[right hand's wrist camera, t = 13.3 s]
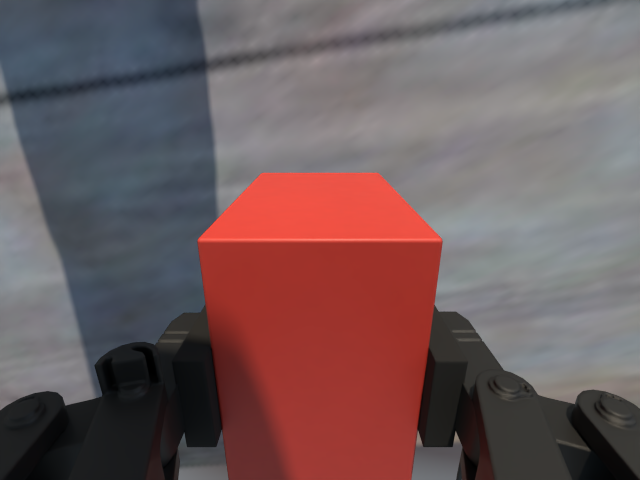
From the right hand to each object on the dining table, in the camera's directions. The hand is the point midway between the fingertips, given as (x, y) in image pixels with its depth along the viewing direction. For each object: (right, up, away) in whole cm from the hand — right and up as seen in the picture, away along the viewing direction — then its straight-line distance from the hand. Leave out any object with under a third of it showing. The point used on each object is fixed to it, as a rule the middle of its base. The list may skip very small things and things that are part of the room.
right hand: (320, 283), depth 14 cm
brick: (0, +1, +3) cm, 3 cm away
